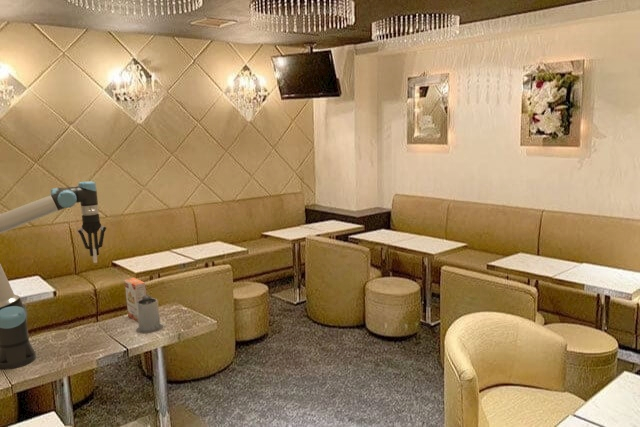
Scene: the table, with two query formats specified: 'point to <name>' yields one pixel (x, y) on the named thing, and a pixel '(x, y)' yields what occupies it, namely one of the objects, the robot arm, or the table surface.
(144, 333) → the coaster
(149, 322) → the grey hexagonal cup
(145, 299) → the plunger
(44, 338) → the table surface
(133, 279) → the cracker box
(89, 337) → the table surface
